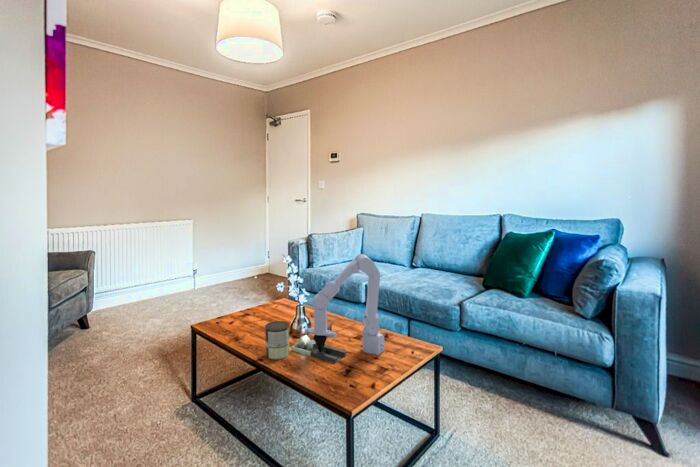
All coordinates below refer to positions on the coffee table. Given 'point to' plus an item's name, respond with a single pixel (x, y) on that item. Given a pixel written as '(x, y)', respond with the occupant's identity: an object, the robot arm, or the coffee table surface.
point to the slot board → (329, 354)
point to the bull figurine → (329, 326)
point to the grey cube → (311, 346)
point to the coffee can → (277, 339)
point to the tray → (300, 350)
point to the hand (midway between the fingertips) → (320, 351)
